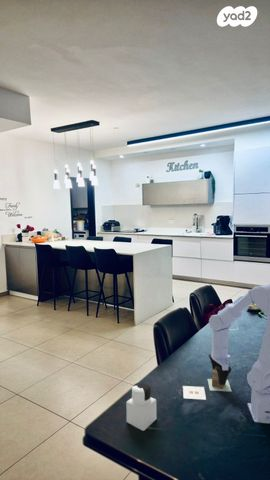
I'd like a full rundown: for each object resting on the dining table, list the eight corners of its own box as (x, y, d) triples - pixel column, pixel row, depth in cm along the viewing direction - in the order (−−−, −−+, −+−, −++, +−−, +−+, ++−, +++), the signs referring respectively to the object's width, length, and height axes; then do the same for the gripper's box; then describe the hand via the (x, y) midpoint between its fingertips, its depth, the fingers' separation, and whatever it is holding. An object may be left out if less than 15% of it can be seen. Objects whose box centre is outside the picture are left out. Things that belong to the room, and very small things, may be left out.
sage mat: (231, 392, 117) (231, 391, 117) (209, 391, 118) (209, 390, 118) (227, 380, 125) (227, 379, 125) (207, 379, 126) (207, 378, 126)
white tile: (206, 400, 112) (206, 399, 112) (183, 399, 113) (183, 398, 113) (203, 388, 120) (203, 386, 120) (182, 386, 121) (182, 385, 121)
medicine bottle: (139, 411, 107) (139, 377, 106) (156, 419, 102) (156, 385, 101) (126, 422, 101) (125, 387, 100) (143, 432, 97) (143, 395, 96)
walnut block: (222, 389, 118) (222, 373, 118) (212, 386, 121) (212, 371, 120) (225, 384, 122) (225, 369, 121) (215, 381, 124) (215, 366, 123)
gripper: (236, 353, 113) (236, 389, 114) (224, 336, 127) (223, 368, 128) (217, 353, 112) (216, 389, 114) (206, 337, 127) (206, 369, 128)
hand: (219, 378), depth 121 cm, fingers open, 7 cm apart
